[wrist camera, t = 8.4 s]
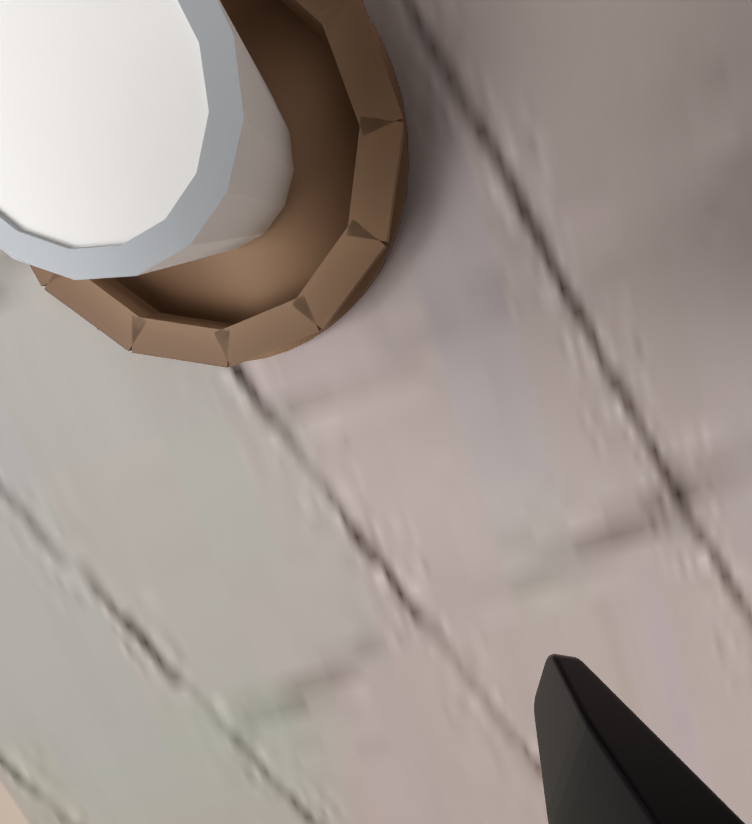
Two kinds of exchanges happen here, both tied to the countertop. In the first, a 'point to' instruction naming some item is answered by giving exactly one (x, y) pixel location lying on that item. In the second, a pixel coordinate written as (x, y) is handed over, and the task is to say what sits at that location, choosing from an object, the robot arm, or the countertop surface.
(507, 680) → the countertop surface
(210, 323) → the round wooden tray
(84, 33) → the white canister
